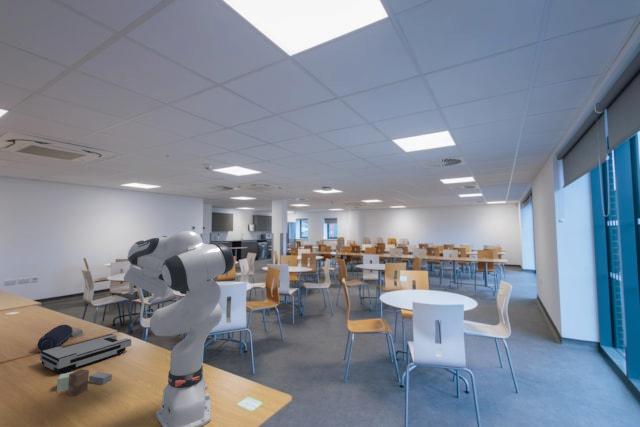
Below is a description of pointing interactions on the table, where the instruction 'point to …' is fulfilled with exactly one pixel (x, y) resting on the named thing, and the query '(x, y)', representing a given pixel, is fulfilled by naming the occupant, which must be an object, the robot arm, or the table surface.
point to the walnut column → (78, 382)
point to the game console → (83, 353)
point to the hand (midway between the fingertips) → (140, 298)
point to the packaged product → (76, 333)
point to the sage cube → (63, 381)
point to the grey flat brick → (100, 378)
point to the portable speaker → (55, 337)
